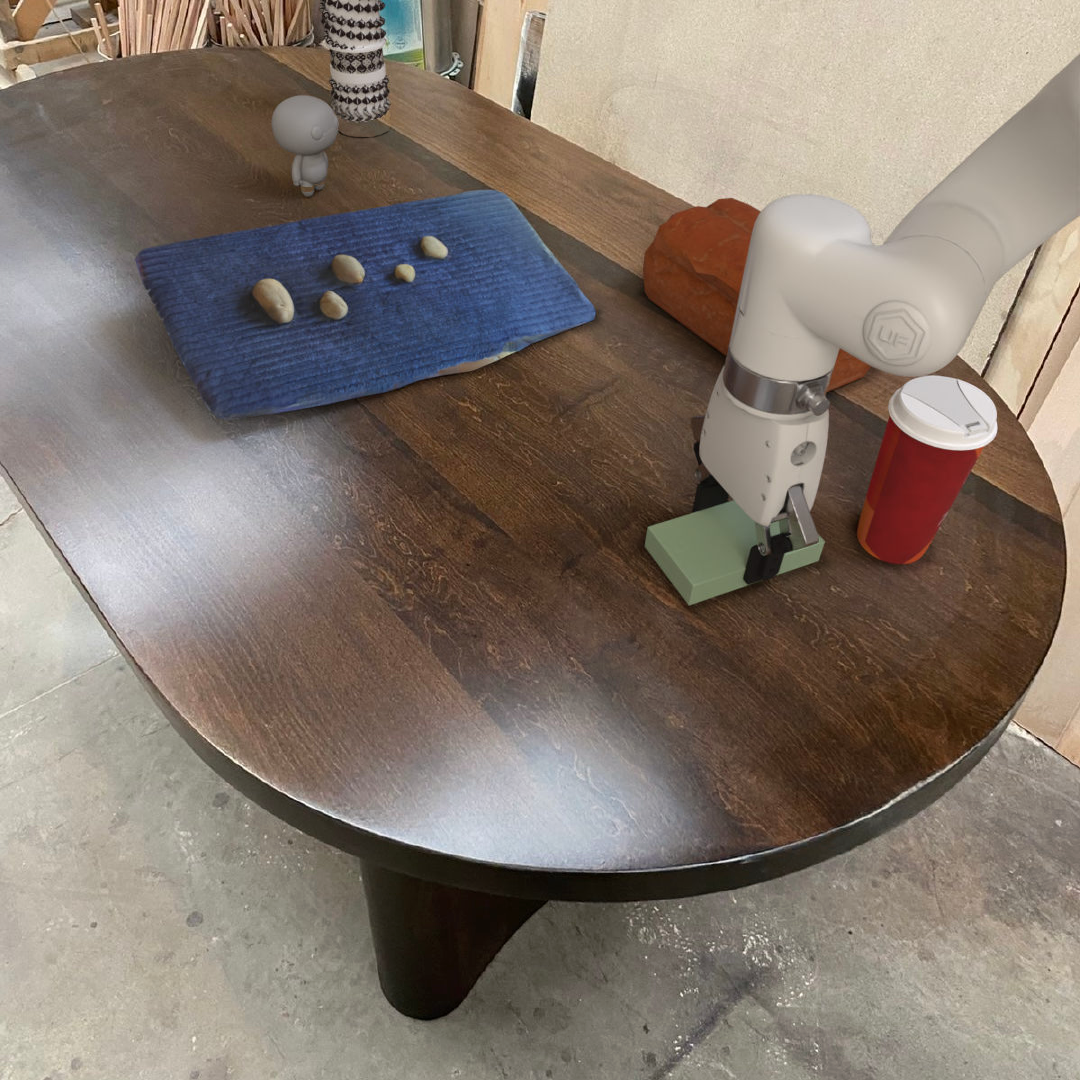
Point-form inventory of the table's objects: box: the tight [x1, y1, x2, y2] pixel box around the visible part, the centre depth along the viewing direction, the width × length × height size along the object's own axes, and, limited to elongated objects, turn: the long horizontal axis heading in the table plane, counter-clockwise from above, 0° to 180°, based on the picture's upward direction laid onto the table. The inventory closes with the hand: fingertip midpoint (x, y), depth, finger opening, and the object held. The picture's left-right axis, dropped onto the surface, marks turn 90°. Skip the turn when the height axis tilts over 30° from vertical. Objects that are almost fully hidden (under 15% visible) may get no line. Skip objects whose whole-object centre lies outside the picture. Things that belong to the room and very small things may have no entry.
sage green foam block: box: [644, 499, 826, 606], centre depth 82 cm, size 13×7×2 cm, turn 115°
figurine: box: [271, 94, 339, 198], centre depth 124 cm, size 8×8×12 cm
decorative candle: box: [318, 0, 392, 123], centre depth 135 cm, size 9×9×25 cm
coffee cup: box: [856, 374, 998, 565], centre depth 79 cm, size 8×8×15 cm
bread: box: [642, 197, 872, 393], centre depth 104 cm, size 16×27×11 cm, turn 34°
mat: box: [134, 189, 597, 421], centre depth 106 cm, size 45×27×12 cm, turn 125°
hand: (733, 544), depth 82 cm, fingers closed on sage green foam block, 7 cm apart
